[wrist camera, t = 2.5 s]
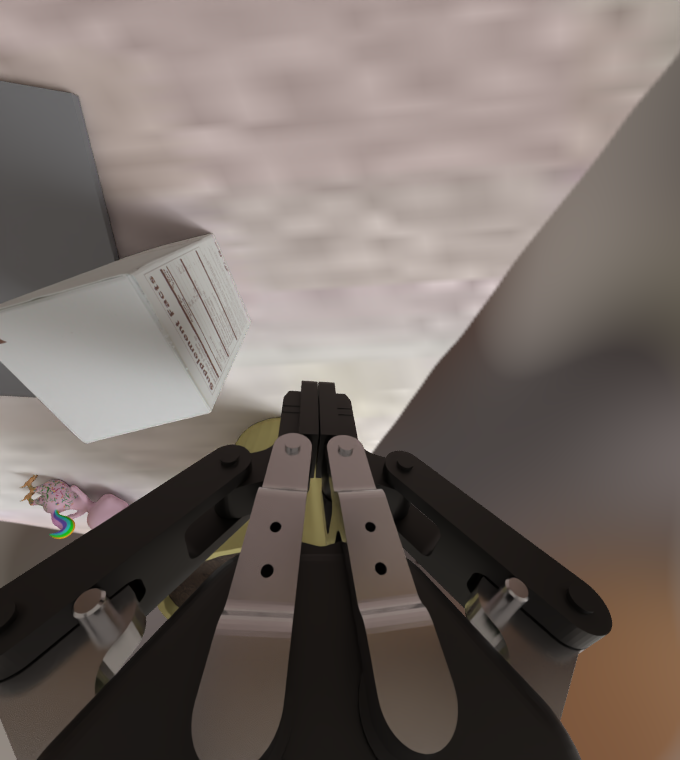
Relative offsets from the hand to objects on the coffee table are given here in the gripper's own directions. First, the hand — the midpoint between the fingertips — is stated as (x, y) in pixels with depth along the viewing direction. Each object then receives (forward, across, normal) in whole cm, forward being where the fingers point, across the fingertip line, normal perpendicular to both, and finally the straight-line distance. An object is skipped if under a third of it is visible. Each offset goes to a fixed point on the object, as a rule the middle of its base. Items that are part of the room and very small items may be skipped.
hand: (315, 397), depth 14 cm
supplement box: (+14, +10, 0) cm, 17 cm away
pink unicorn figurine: (+14, +23, +26) cm, 37 cm away
